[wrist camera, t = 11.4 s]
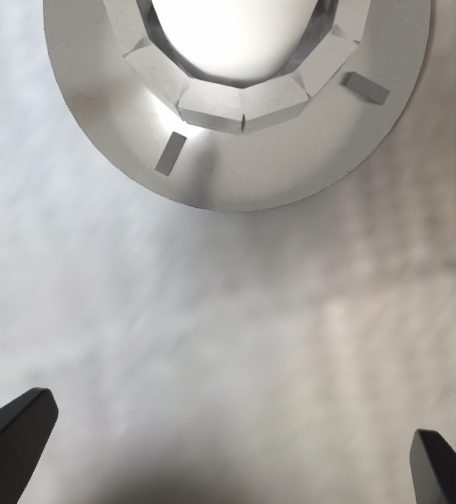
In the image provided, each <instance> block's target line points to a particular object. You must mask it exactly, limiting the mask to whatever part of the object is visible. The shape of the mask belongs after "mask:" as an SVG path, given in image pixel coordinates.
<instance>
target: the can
mask: <svg viewBox="0 0 456 504" xmlns="http://www.w3.org/2000/svg"><path fill="white" fill-rule="evenodd" d="M317 1H318V0H152V3H153V5H154V8H155V11H156V13H157V16H158V18H159V21H160V24H161V26H162V29H163V31H164V34H165V36H166V39H167V41H168V43H169V46H170V48H171V50H172V52H173V53H174V55H175V57H176V58H177V60H178V61H179V62H180V64H181V65H182V66H183V67H184V68H185V69H186V70H187V71H188V72H189V73H190V74H191V75H193V76H194V77H195V78H197V79H198V80H202V81H207V82H211V83H216V84H220V85H225V86H229V87H234V88H238V89H245V88H248V87H251V86H254V85H257V84H260V83H263V82H265V81H267V80H269V79H270V78H272V77H273V76H274V75H276V74H277V73H278V72H279V71H280V70H281V69H282V68H283V67H284V66H285V65H286V64H287V63H288V61H289V60H290V59H291V57H292V56H293V54H294V52H295V51H296V49H297V47H298V45H299V42H300V40H301V38H302V36H303V34H304V31H305V29H306V27H307V24H308V22H309V20H310V17H311V15H312V13H313V10H314V8H315V6H316V3H317Z"/></svg>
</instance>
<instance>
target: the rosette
mask: <svg viewBox="0 0 456 504" xmlns="http://www.w3.org/2000/svg"><path fill="white" fill-rule="evenodd" d="M430 12H431V0H318V1H317V3H316V6H315V8H314V10H313V13H312V15H311V17H310V20H309V22H308V24H307V27H306V29H305V31H304V34H303V36H302V38H301V40H300V42H299V45H298V47H297V49H296V51H295V52H294V54H293V56H292V57H291V59H290V60H289V61H288V63H287V64H286V65H285V66H284V67H283V68H282V69H281V70H280V71H279V72H278V73H277V74H276V75H274V76H273V77H272V78H270V79H269V80H267V81H265V82H263V83H260V84H257V85H254V86H251V87H248V88H245V89H238V88H234V87H229V86H225V85H220V84H216V83H211V82H207V81H202V80H198V79H197V78H195V77H194V76H193V75H191V74H190V73H189V72H188V71H187V70H186V69H185V68H184V67H183V66H182V65H181V64H180V62H179V61H178V60H177V58H176V57H175V55H174V53H173V52H172V50H171V48H170V46H169V43H168V41H167V39H166V36H165V34H164V31H163V29H162V26H161V24H160V21H159V18H158V16H157V13H156V11H155V8H154V5H153V3H152V0H43V17H44V31H45V37H46V43H47V49H48V55H49V58H50V62H51V65H52V69H53V72H54V75H55V79H56V82H57V84H58V86H59V88H60V91H61V93H62V95H63V98H64V100H65V102H66V105H67V106H68V108H69V110H70V111H71V113H72V115H73V116H74V118H75V120H76V122H77V123H78V125H79V127H80V128H81V129H82V130H83V132H84V133H85V134H86V136H87V137H88V138H89V140H90V141H91V142H92V144H93V145H94V146H95V147H96V148H97V149H98V150H99V151H100V152H101V153H102V154H103V155H104V156H105V157H106V158H107V159H108V160H109V161H110V162H111V163H112V164H113V165H114V166H115V167H116V168H118V169H119V170H120V171H122V172H123V173H124V174H125V175H127V176H128V177H129V178H130V179H132V180H134V181H135V182H137V183H139V184H140V185H142V186H144V187H145V188H147V189H149V190H150V191H152V192H154V193H156V194H159V195H161V196H163V197H166V198H168V199H170V200H173V201H175V202H179V203H182V204H186V205H189V206H193V207H196V208H201V209H208V210H215V211H227V212H247V211H256V210H264V209H271V208H275V207H279V206H283V205H286V204H290V203H293V202H296V201H299V200H301V199H304V198H306V197H309V196H311V195H314V194H316V193H317V192H319V191H321V190H323V189H325V188H327V187H328V186H330V185H332V184H334V183H336V182H337V181H338V180H340V179H341V178H342V177H344V176H345V175H346V174H348V173H349V172H351V171H352V170H353V169H355V168H356V167H357V166H358V165H359V164H360V163H361V162H362V161H363V160H364V159H365V158H366V157H368V156H369V155H370V154H371V153H372V152H373V151H374V150H375V149H376V147H377V146H378V145H379V144H380V142H381V141H382V140H383V139H384V138H385V136H386V135H387V134H388V133H389V131H390V130H391V129H392V127H393V125H394V124H395V122H396V121H397V119H398V117H399V116H400V114H401V113H402V111H403V110H404V108H405V106H406V103H407V101H408V99H409V97H410V95H411V93H412V91H413V89H414V87H415V84H416V81H417V78H418V75H419V72H420V69H421V66H422V63H423V60H424V55H425V50H426V45H427V40H428V35H429V25H430Z"/></svg>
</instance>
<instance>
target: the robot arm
mask: <svg viewBox="0 0 456 504" xmlns="http://www.w3.org/2000/svg"><path fill="white" fill-rule="evenodd" d="M58 413H59V412H58V407H57V404H56V402H55V399H54V397H53V394H52V392H51V390H49V389H48V388H40V387H35V388H32V389H30V390H29V391H27V392H25V393H24V394H22V395H21V396H19V397H18V398H16V399H14V400H13V401H11V402H10V403H8V404H7V405H5V406H3V407H2V408H0V504H17V502H18V500H19V499H20V497H21V495H22V493H23V491H24V490H25V488H26V486H27V484H28V482H29V480H30V478H31V476H32V474H33V472H34V470H35V468H36V466H37V463H38V461H39V459H40V457H41V454H42V452H43V450H44V448H45V445H46V443H47V441H48V439H49V436H50V434H51V432H52V430H53V427H54V425H55V423H56V421H57V418H58ZM410 466H411V472H412V478H413V484H414V490H415V496H416V502H417V504H456V452H455V451H454V450H453V449H452V448H451V446H450V445H449V444H448V443H447V442H446V440H445V439H444V438H443V437H442V436H441V435H440V434H439V433H438V432H437V431H434V430H427V429H417V430H416V431H415V433H414V438H413V442H412V446H411V450H410Z"/></svg>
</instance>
